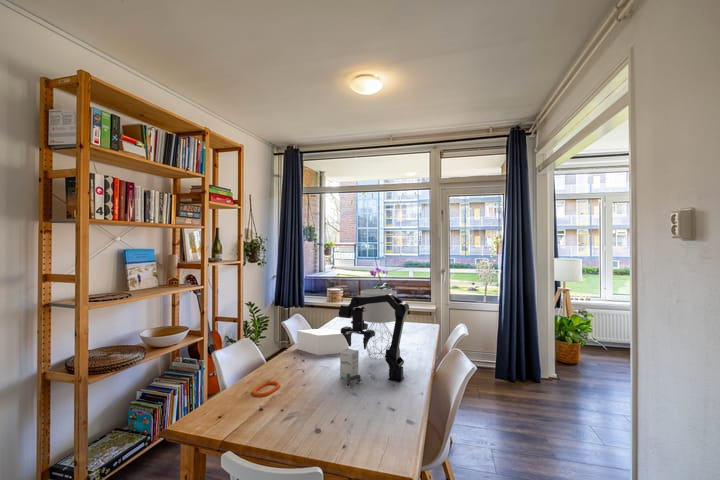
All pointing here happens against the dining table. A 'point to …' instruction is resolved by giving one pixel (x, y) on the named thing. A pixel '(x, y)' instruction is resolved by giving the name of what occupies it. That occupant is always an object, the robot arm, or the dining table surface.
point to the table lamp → (378, 313)
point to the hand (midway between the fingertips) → (357, 347)
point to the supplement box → (349, 362)
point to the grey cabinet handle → (352, 380)
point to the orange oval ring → (268, 391)
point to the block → (321, 341)
